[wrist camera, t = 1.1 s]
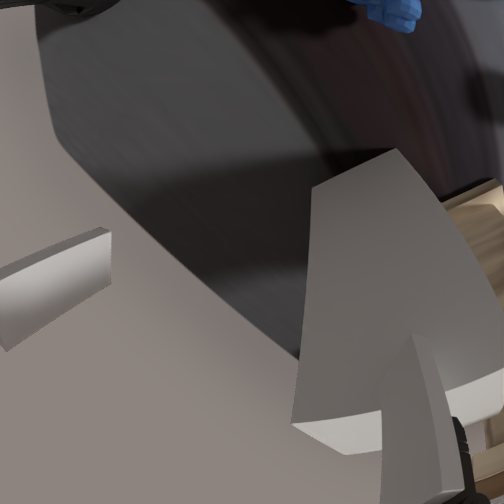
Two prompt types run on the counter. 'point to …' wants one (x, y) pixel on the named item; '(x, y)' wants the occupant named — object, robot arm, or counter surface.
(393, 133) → the counter surface
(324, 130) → the counter surface
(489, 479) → the stand
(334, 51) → the counter surface
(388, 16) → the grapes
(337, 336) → the block
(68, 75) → the counter surface
